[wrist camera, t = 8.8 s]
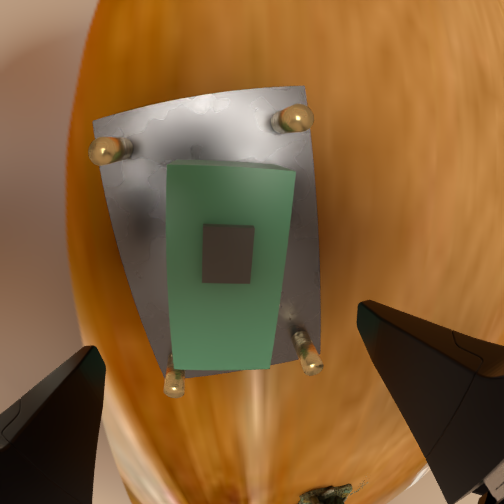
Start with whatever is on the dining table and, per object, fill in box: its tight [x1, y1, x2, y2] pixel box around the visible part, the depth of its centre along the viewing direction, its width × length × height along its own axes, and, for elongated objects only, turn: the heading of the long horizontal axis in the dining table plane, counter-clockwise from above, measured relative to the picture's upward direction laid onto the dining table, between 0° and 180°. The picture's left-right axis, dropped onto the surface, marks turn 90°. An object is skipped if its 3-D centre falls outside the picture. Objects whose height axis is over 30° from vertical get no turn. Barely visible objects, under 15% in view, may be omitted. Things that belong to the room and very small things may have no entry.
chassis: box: [89, 86, 323, 398], centre depth 15 cm, size 17×11×4 cm, turn 7°
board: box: [166, 160, 296, 370], centre depth 14 cm, size 10×5×4 cm, turn 175°
